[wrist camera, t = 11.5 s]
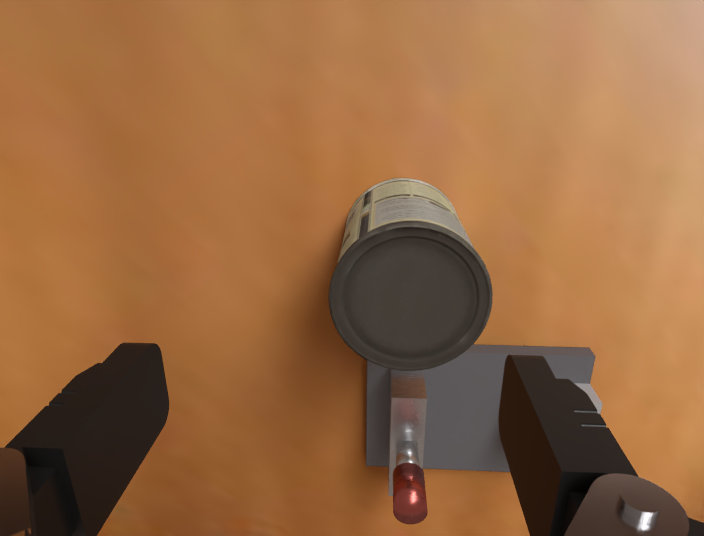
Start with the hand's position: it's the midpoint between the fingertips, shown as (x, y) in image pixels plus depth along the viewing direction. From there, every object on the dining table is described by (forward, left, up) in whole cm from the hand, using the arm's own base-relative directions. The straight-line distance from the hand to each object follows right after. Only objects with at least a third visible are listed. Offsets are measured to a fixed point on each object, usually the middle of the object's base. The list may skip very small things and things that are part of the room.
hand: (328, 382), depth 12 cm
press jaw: (-4, +25, -31) cm, 40 cm away
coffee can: (-3, +7, -33) cm, 34 cm away
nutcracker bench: (-11, +25, -33) cm, 43 cm away
